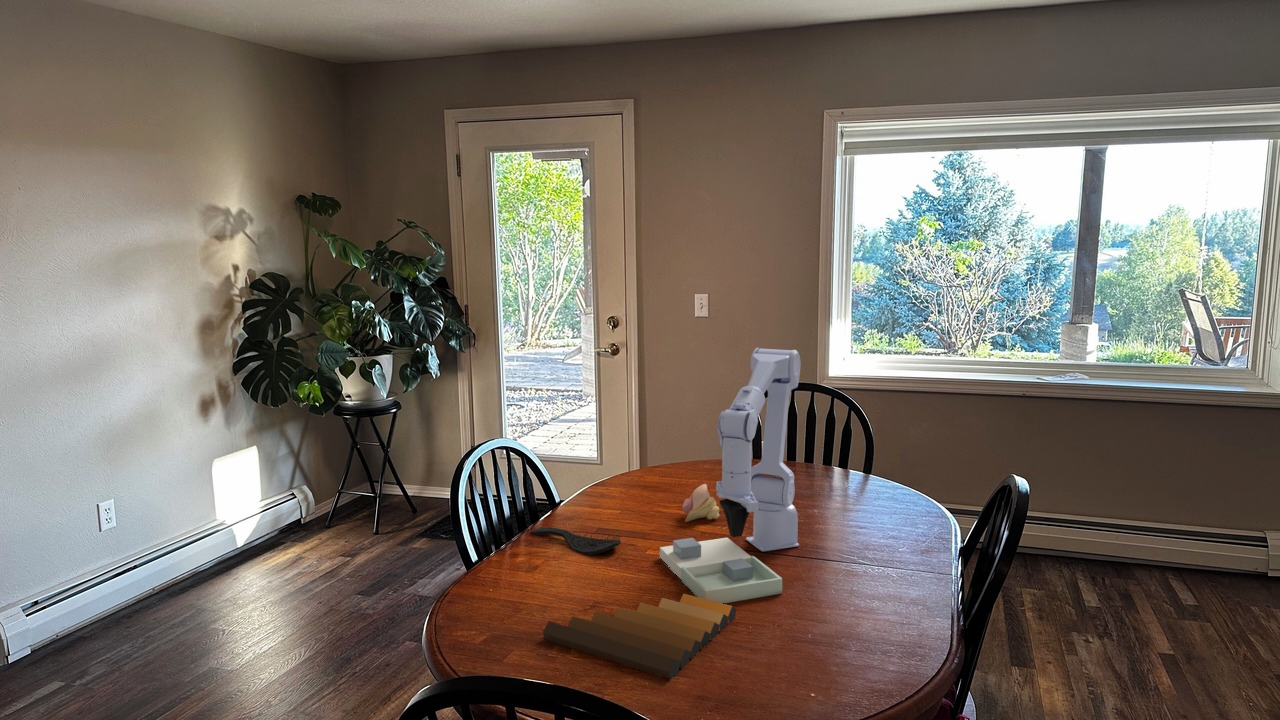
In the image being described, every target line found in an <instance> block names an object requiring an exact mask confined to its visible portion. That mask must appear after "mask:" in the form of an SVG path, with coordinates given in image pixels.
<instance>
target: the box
mask: <svg viewBox="0 0 1280 720" xmlns="http://www.w3.org/2000/svg"><path fill="white" fill-rule="evenodd" d="M750 556H751V565H752V566H753V578H752V579H746V580H740V581H735V582H733V581H731V580H730V579H729V578H728V577H727V576H726V575H724V574H723V572H720V573H714V574H708V575H702V576H696V577H694V576H693V575H692V574H691V573H690V572H689V571H688V570H687V569H686V568H685V567H681V580H682V581H681V580H680V581H681V583H683V584H684V586H685V587H686V586H687V587H688V588H689V589H690V590H691V591H690V590H689V589H688V588H687V587H686V588H687V589H688V590H689V591H690V592H691V593H692V592H693V593H692V594H693V596H695V597H696V596H697V597H699V598H703V599H707V600H711V601H715V602H719V603H724V604H728V603H734V602H740V601H744V600H752V599H757V598H763V597H768V596H773V595H780V594H783V578H782V577H781V576H780V575H778V574H777V573H776V572H775V571H773V569H771V568H770V567H768V565H766V564H765V563H763V562H762V561H761V560H759V559H758V558H757V557H756V556H754V555H750Z"/></svg>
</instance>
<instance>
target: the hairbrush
mask: <svg viewBox="0 0 1280 720" xmlns="http://www.w3.org/2000/svg"><path fill="white" fill-rule="evenodd" d="M530 533H531V534H532V535H533V536H543V535H548V536H549V535H551V536H558V537H561V538H563V539H564V541H565V542H566V544H567V545H568V547H569V548H570V549H571V550H572V551H574V552H576V553H579V554H582V555H586V556H594V555H598V554H602V553H604V552H607V551H610V550H612V549H614V548H616V547H618V546H620V545H621V543H622V541H621V539H620V535H619V534H616V535H615V536H613V539H611V537H612V536H611V534H610V536H609V534H608V535H607V536H606V534H605V535H604V534H602V535H596V538H595V533H589V534H590V536H589V537H588V533H583V534H584V535H581V534H582V532H581V531H580V533H579V534H575V531H573V532H571V531H568V530H565V529H562V528H557V527H551V526H544V527H540V528H535V529H532V530H531V531H530ZM598 536H599V537H598ZM604 536H605V537H604Z"/></svg>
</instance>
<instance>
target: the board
mask: <svg viewBox="0 0 1280 720" xmlns="http://www.w3.org/2000/svg"><path fill="white" fill-rule="evenodd" d="M697 542H698V543H699V544H700V545H701V557H695V558H689V559H682V560H681V559H680V558H679V557H678V556H677V555H676V554H675V553H674V552H673V545H666V546H661V547H660V546H659V559H660V558H661V559H662V560H663V561H664V562H665V563H666V564H667V565H668V566H667V565H666V564H665V563H664V562H663V561H662V560H661V559H660V560H661V561H662V562H663V563H664V564H665V565H666V566H667V567H668V568H669V567H670V568H669V569H670V571H671V572H672V573H674V575H675V574H676V575H677V576H678V577H679V578H680V579H681V567H685V568H686V569H687V570H688V571H689V572H690V573H691V574H692V575H693V576H694V577H696V576H702V575H708V574H714V573H720V572H723V561H729V560H735V559H741V558H743V559H744V560H745V561H747V562H748V563H749V564H751V556H752V555H750V554H748V553H747V552H746V551H745V550H744V549H743V548H741V547H740V546H739V545H737V544H736V543H735V542H733V541H732V540H731V539H730V538H729V537H722V538H716V539H708V540H702V541H700V540H699V541H697ZM676 575H675V576H676ZM677 576H676V577H677ZM678 577H677V578H678ZM679 578H678V579H679ZM680 579H679V580H680Z"/></svg>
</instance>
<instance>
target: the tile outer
mask: <svg viewBox="0 0 1280 720" xmlns="http://www.w3.org/2000/svg"><path fill="white" fill-rule="evenodd" d="M698 542H699V541H697V540H696V539H695V538H693V537H688V538H681V539H674V540H672V546H673V552H674V553H675V554H676V555H677V556H678V557H679V558H680V559H681V560H682V559H689V558H695V557H701V545H700V544H699V543H698Z"/></svg>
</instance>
